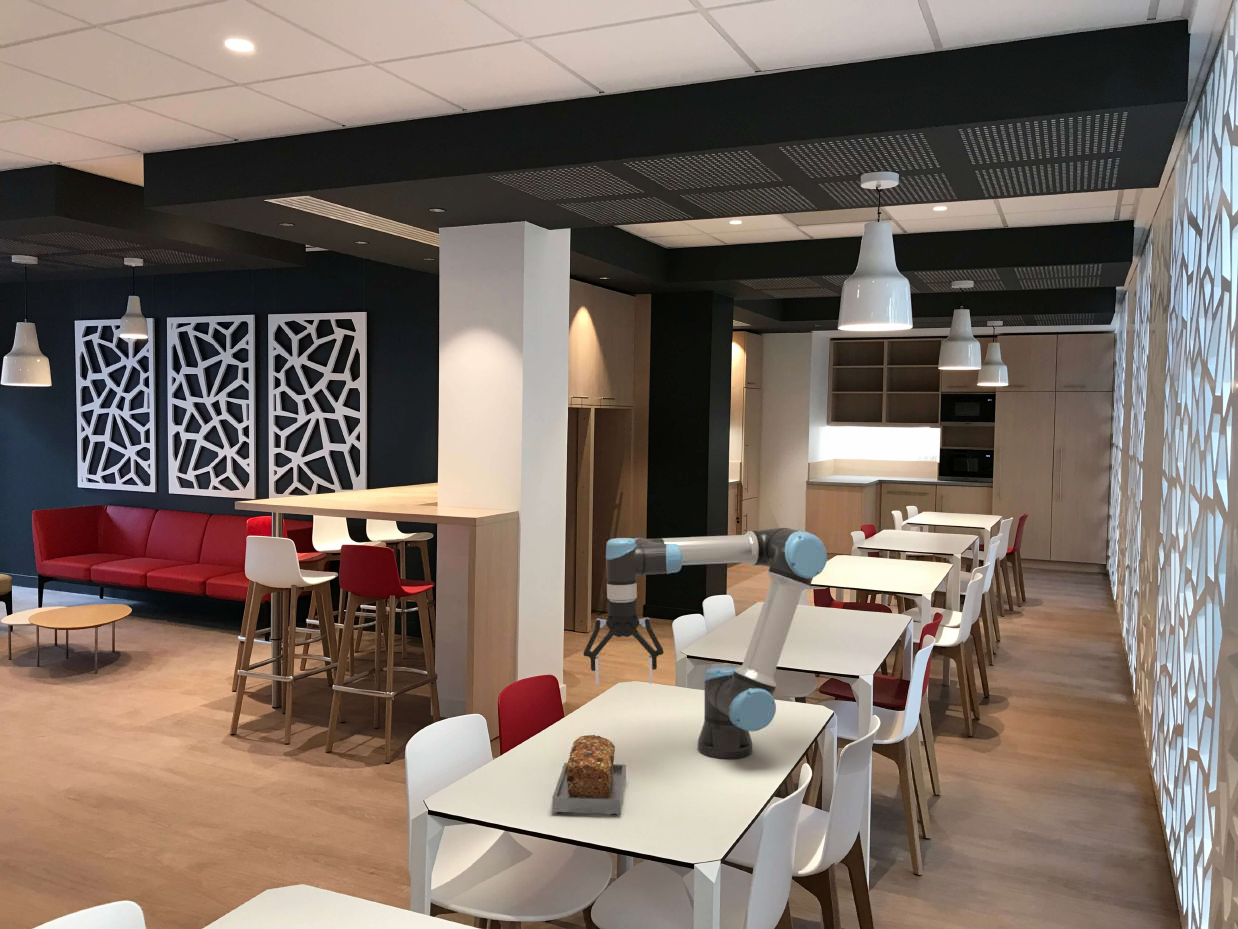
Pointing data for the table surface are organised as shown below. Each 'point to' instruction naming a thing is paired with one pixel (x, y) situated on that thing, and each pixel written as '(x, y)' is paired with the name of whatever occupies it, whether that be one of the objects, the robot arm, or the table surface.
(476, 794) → the table surface
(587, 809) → the grey serving tray
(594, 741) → the bread
